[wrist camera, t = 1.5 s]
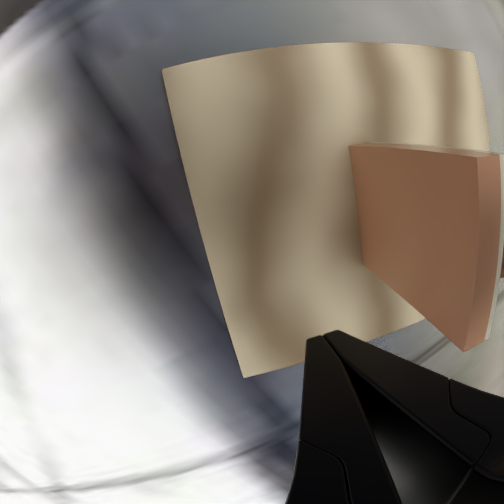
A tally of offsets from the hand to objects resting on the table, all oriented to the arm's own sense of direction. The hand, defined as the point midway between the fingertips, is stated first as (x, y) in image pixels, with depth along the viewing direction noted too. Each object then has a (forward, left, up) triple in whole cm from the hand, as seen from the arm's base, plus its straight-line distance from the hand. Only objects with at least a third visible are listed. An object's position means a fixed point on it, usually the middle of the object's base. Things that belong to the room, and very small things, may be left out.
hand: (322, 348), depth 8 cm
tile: (-7, 0, -11) cm, 13 cm away
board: (-8, 0, -12) cm, 14 cm away
